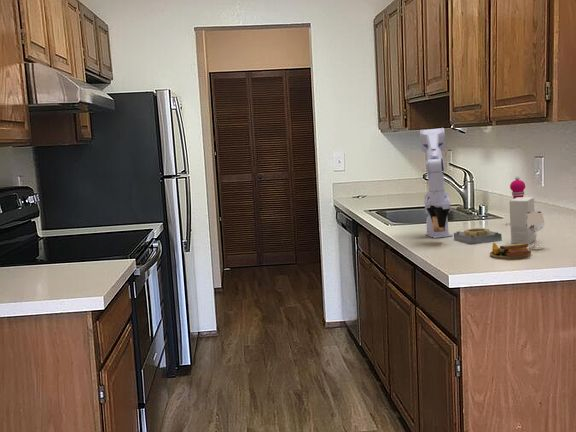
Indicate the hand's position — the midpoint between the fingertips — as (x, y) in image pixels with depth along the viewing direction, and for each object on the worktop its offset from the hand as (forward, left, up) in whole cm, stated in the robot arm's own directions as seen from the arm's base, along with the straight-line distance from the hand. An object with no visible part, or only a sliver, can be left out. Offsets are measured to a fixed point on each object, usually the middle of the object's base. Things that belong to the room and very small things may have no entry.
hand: (439, 226), depth 226 cm
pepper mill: (-20, +45, -6) cm, 50 cm away
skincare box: (+19, +23, -7) cm, 30 cm away
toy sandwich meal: (+37, +8, -7) cm, 39 cm away
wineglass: (+31, +20, -6) cm, 37 cm away
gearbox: (+3, +13, -6) cm, 15 cm away
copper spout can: (0, 0, -2) cm, 2 cm away
